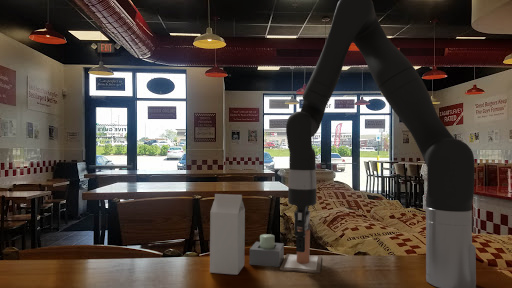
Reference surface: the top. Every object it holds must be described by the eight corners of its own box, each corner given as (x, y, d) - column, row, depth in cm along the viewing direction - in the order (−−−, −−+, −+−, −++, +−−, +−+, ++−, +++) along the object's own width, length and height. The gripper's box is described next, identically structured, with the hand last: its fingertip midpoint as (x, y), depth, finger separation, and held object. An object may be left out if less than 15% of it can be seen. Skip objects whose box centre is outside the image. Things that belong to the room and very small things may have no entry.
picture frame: (321, 257, 98) (321, 255, 98) (319, 273, 85) (319, 271, 85) (286, 255, 100) (286, 253, 100) (279, 270, 87) (279, 267, 87)
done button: (275, 252, 96) (275, 234, 96) (273, 257, 92) (273, 238, 92) (261, 251, 97) (261, 233, 97) (258, 255, 93) (258, 237, 93)
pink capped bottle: (309, 260, 94) (310, 223, 94) (309, 264, 90) (309, 225, 90) (297, 258, 94) (297, 222, 94) (295, 263, 91) (296, 225, 91)
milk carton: (237, 275, 83) (238, 196, 84) (209, 273, 85) (210, 195, 85) (244, 265, 90) (245, 193, 91) (218, 263, 92) (219, 192, 92)
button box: (283, 257, 98) (283, 243, 98) (279, 266, 90) (279, 251, 90) (256, 255, 99) (256, 241, 99) (249, 264, 91) (249, 249, 92)
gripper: (315, 189, 85) (314, 256, 85) (317, 184, 99) (317, 241, 99) (284, 189, 87) (284, 253, 86) (291, 183, 101) (291, 239, 100)
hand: (302, 247), depth 93 cm, fingers open, 8 cm apart
